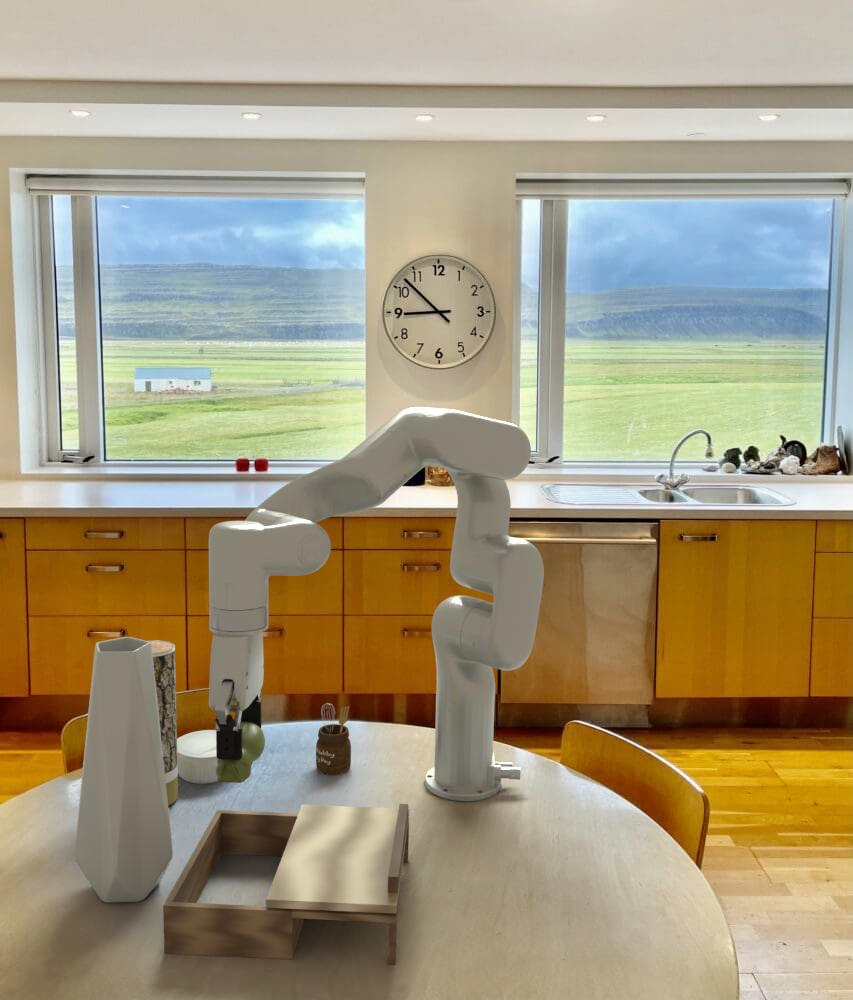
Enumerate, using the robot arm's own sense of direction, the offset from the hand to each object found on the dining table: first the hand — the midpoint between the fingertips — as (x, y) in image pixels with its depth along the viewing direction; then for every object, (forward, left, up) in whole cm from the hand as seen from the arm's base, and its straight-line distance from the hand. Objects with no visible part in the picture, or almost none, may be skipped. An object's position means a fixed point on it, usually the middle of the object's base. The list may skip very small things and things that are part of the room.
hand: (239, 743), depth 121 cm
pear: (0, 0, -4) cm, 4 cm away
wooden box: (-9, +6, -18) cm, 21 cm away
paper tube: (+18, -19, -19) cm, 32 cm away
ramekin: (+13, -30, -19) cm, 38 cm away
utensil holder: (-8, -33, -19) cm, 39 cm away
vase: (+14, +5, -19) cm, 24 cm away
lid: (-15, +6, -12) cm, 20 cm away
